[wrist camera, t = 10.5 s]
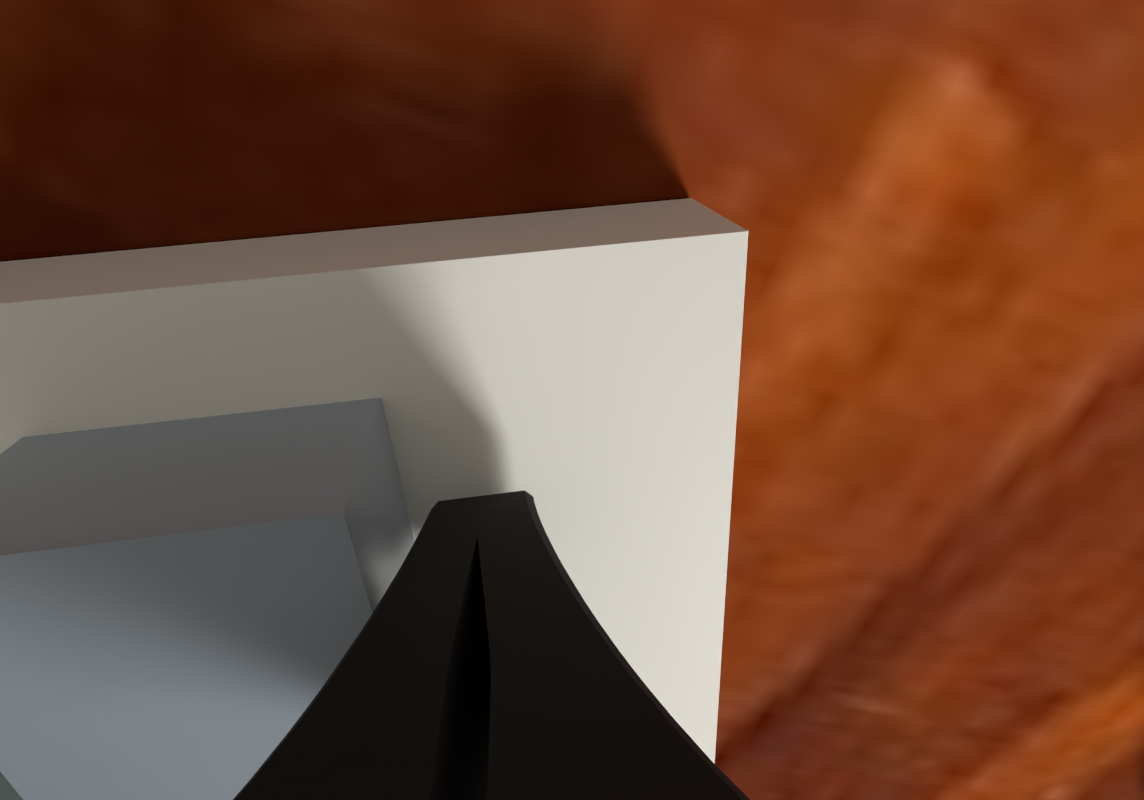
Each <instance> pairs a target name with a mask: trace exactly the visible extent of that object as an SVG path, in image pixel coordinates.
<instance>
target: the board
mask: <svg viewBox="0 0 1144 800" xmlns="http://www.w3.org/2000/svg"><path fill="white" fill-rule="evenodd" d="M747 246H748V231H747V230H746V229H744V228H742V227H740V226H739V225H737V224H735V223H733V222H732V221H730V220H728V219H726V218H725V217H723V216H721V215H719V214H718V213H716V212H714V211H712V210H711V209H709V208H707V207H705V206H704V205H702V204H700V203H699V202H697V201H695V200H693V199H692V198H687V199H676V200H665V201H654V202H643V203H633V204H622V205H611V206H600V207H589V208H578V209H568V210H557V211H546V212H535V213H524V214H513V215H503V216H492V217H481V218H470V219H459V220H448V221H437V222H427V223H416V224H405V225H394V226H383V227H372V228H362V229H351V230H340V231H329V232H318V233H307V234H297V235H286V236H275V237H264V238H253V239H242V240H231V241H221V242H210V243H199V244H188V245H177V246H166V247H156V248H145V249H134V250H123V251H112V252H101V253H91V254H80V255H69V256H58V257H47V258H36V259H25V260H15V261H4V262H0V454H1V453H2V452H4V451H5V450H6V449H8V448H9V447H10V446H12V445H13V444H14V443H15V442H17V441H18V440H19V439H21V438H22V437H29V436H38V435H47V434H56V433H65V432H74V431H83V430H92V429H101V428H110V427H119V426H129V425H138V424H147V423H156V422H165V421H174V420H183V419H192V418H201V417H210V416H219V415H228V414H237V413H246V412H255V411H264V410H273V409H282V408H291V407H300V406H309V405H318V404H327V403H336V402H345V401H354V400H363V399H372V398H382V402H383V407H384V411H385V415H386V420H387V424H388V428H389V433H390V437H391V441H392V446H393V450H394V454H395V459H396V463H397V467H398V471H399V476H400V480H401V484H402V489H403V493H404V497H405V502H406V506H407V510H408V515H409V519H410V523H411V528H412V532H413V536H414V541H415V540H416V538H417V536H418V534H419V533H420V531H421V529H422V527H423V525H424V523H425V521H426V519H427V517H428V515H429V513H430V511H431V509H432V508H433V506H434V505H435V504H436V503H437V502H438V501H443V500H451V499H459V498H467V497H475V496H483V495H491V494H499V493H507V492H515V491H524V490H525V491H526V492H528V493H529V494H530V495H532V496H533V497H534V503H535V506H536V509H537V512H538V515H539V518H540V520H541V523H542V525H543V527H544V530H545V532H546V534H547V536H548V538H549V540H550V542H551V544H552V546H553V548H554V550H555V552H556V554H557V556H558V558H559V559H560V561H561V563H562V565H563V567H564V568H565V570H566V571H567V573H568V575H569V576H570V578H571V580H572V581H573V583H574V585H575V586H576V588H577V589H578V591H579V593H580V594H581V596H582V598H583V599H584V601H585V602H586V604H587V605H588V607H589V608H590V610H591V611H592V613H593V614H594V616H595V617H596V619H597V620H598V622H599V623H600V625H601V626H602V627H603V629H604V630H605V632H606V633H607V634H608V636H609V637H610V639H611V640H612V641H613V643H614V644H615V646H616V647H617V648H618V650H619V651H620V652H621V654H622V655H623V656H624V658H625V659H626V660H627V662H628V663H629V664H630V666H631V667H632V668H633V670H634V671H635V672H636V673H637V675H638V676H639V677H640V678H641V680H642V681H643V682H644V683H645V685H646V686H647V687H648V688H649V690H650V691H651V692H652V693H653V694H654V696H655V697H656V698H657V699H658V700H659V702H660V703H661V704H662V705H663V706H664V708H665V709H666V710H667V711H668V712H669V714H670V715H671V716H672V717H673V718H674V719H675V721H676V722H677V723H678V724H679V725H680V726H681V727H682V728H683V729H684V731H685V732H686V733H687V734H688V735H689V736H690V737H691V738H692V740H693V741H694V742H695V743H696V744H697V745H698V746H699V747H700V748H701V750H702V751H703V752H704V753H705V754H706V755H707V756H708V757H709V759H710V760H711V761H712V762H713V763H715V748H716V732H717V716H718V701H719V685H720V669H721V653H722V638H723V622H724V606H725V591H726V575H727V559H728V544H729V528H730V512H731V497H732V481H733V465H734V449H735V434H736V418H737V402H738V387H739V371H740V355H741V340H742V324H743V308H744V293H745V277H746V261H747Z"/></svg>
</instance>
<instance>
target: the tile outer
mask: <svg viewBox="0 0 1144 800" xmlns="http://www.w3.org/2000/svg"><path fill="white" fill-rule="evenodd" d="M414 542H415V541H414V536H413V532H412V528H411V523H410V519H409V515H408V510H407V506H406V502H405V497H404V493H403V489H402V484H401V480H400V476H399V471H398V467H397V463H396V459H395V454H394V450H393V446H392V441H391V437H390V433H389V428H388V424H387V420H386V415H385V411H384V407H383V402H382V398H372V399H363V400H354V401H345V402H336V403H327V404H318V405H309V406H300V407H291V408H282V409H273V410H264V411H255V412H246V413H237V414H228V415H219V416H210V417H201V418H192V419H183V420H174V421H165V422H156V423H147V424H138V425H129V426H119V427H110V428H101V429H92V430H83V431H74V432H65V433H56V434H47V435H38V436H29V437H22V438H21V439H19V440H18V441H17V442H15V443H14V444H13V445H12V446H10V447H9V448H8V449H6V450H5V451H4V452H2V453H1V454H0V772H1V773H2V774H3V775H4V776H5V778H6V779H7V780H8V781H9V783H10V784H11V785H12V786H13V788H14V789H15V790H16V791H17V793H18V794H19V795H20V796H21V798H22V799H23V800H233V799H234V798H235V797H236V795H237V794H238V793H239V792H240V791H241V790H242V788H243V787H244V786H245V785H246V784H247V783H248V781H249V780H250V779H251V778H252V777H253V775H254V774H255V773H256V772H257V771H258V769H259V768H260V767H261V766H262V764H263V763H264V762H265V761H266V759H267V758H268V757H269V756H270V754H271V753H272V752H273V751H274V749H275V748H276V747H277V746H278V745H279V743H280V742H281V741H282V740H283V738H284V737H285V736H286V735H287V733H288V732H289V731H290V729H291V728H292V727H293V726H294V724H295V723H296V722H297V720H298V719H299V718H300V716H301V715H302V714H303V712H304V711H305V710H306V708H307V707H308V706H309V704H310V703H311V702H312V700H313V699H314V698H315V696H316V695H317V694H318V692H319V691H320V690H321V688H322V687H323V686H324V684H325V683H326V681H327V680H328V678H329V677H330V675H331V674H332V673H333V671H334V670H335V668H336V667H337V665H338V664H339V662H340V661H341V659H342V658H343V657H344V655H345V654H346V652H347V651H348V649H349V648H350V646H351V645H352V644H353V642H354V641H355V639H356V638H357V636H358V635H359V633H360V632H361V630H362V629H363V627H364V626H365V624H366V623H367V621H368V620H369V618H370V617H371V615H372V613H373V612H374V610H375V608H376V607H377V605H378V604H379V602H380V600H381V599H382V597H383V595H384V594H385V592H386V590H387V589H388V587H389V586H390V584H391V582H392V581H393V579H394V577H395V576H396V574H397V572H398V571H399V569H400V567H401V565H402V564H403V562H404V560H405V558H406V557H407V555H408V553H409V551H410V549H411V548H412V546H413V544H414Z"/></svg>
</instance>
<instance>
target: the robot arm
mask: <svg viewBox="0 0 1144 800" xmlns="http://www.w3.org/2000/svg"><path fill="white" fill-rule="evenodd" d="M233 800H750V799H749V798H748V797H747V796H746V795H745V794H744V793H743V792H742V791H741V790H740V789H739V788H738V787H737V786H736V785H735V784H734V783H733V782H732V781H731V780H730V779H729V778H728V777H727V776H726V775H725V774H724V773H723V772H722V771H721V770H720V769H719V768H718V767H717V766H716V765H715V764H714V763H713V762H712V761H711V760H710V759H709V757H708V756H707V755H706V754H705V753H704V752H703V751H702V750H701V748H700V747H699V746H698V745H697V744H696V743H695V742H694V741H693V740H692V738H691V737H690V736H689V735H688V734H687V733H686V732H685V731H684V729H683V728H682V727H681V726H680V725H679V724H678V723H677V722H676V721H675V719H674V718H673V717H672V716H671V715H670V714H669V712H668V711H667V710H666V709H665V708H664V706H663V705H662V704H661V703H660V702H659V700H658V699H657V698H656V697H655V696H654V694H653V693H652V692H651V691H650V690H649V688H648V687H647V686H646V685H645V683H644V682H643V681H642V680H641V678H640V677H639V676H638V675H637V673H636V672H635V671H634V670H633V668H632V667H631V666H630V664H629V663H628V662H627V660H626V659H625V658H624V656H623V655H622V654H621V652H620V651H619V650H618V648H617V647H616V646H615V644H614V643H613V641H612V640H611V639H610V637H609V636H608V634H607V633H606V632H605V630H604V629H603V627H602V626H601V625H600V623H599V622H598V620H597V619H596V617H595V616H594V614H593V613H592V611H591V610H590V608H589V607H588V605H587V604H586V602H585V601H584V599H583V598H582V596H581V594H580V593H579V591H578V589H577V588H576V586H575V585H574V583H573V581H572V580H571V578H570V576H569V575H568V573H567V571H566V570H565V568H564V567H563V565H562V563H561V561H560V559H559V558H558V556H557V554H556V552H555V550H554V548H553V546H552V544H551V542H550V540H549V538H548V536H547V534H546V532H545V530H544V527H543V525H542V523H541V520H540V518H539V515H538V512H537V509H536V506H535V503H534V497H533V496H532V495H530V494H529V493H528V492H526V491H525V490H524V491H515V492H507V493H499V494H491V495H483V496H475V497H467V498H459V499H451V500H443V501H438V502H437V503H436V504H435V505H434V506H433V508H432V509H431V511H430V513H429V515H428V517H427V519H426V521H425V523H424V525H423V527H422V529H421V531H420V533H419V534H418V536H417V538H416V540H415V542H414V544H413V546H412V548H411V549H410V551H409V553H408V555H407V557H406V558H405V560H404V562H403V564H402V565H401V567H400V569H399V571H398V572H397V574H396V576H395V577H394V579H393V581H392V582H391V584H390V586H389V587H388V589H387V590H386V592H385V594H384V595H383V597H382V599H381V600H380V602H379V604H378V605H377V607H376V608H375V610H374V612H373V613H372V615H371V617H370V618H369V620H368V621H367V623H366V624H365V626H364V627H363V629H362V630H361V632H360V633H359V635H358V636H357V638H356V639H355V641H354V642H353V644H352V645H351V646H350V648H349V649H348V651H347V652H346V654H345V655H344V657H343V658H342V659H341V661H340V662H339V664H338V665H337V667H336V668H335V670H334V671H333V673H332V674H331V675H330V677H329V678H328V680H327V681H326V683H325V684H324V686H323V687H322V688H321V690H320V691H319V692H318V694H317V695H316V696H315V698H314V699H313V700H312V702H311V703H310V704H309V706H308V707H307V708H306V710H305V711H304V712H303V714H302V715H301V716H300V718H299V719H298V720H297V722H296V723H295V724H294V726H293V727H292V728H291V729H290V731H289V732H288V733H287V735H286V736H285V737H284V738H283V740H282V741H281V742H280V743H279V745H278V746H277V747H276V748H275V749H274V751H273V752H272V753H271V754H270V756H269V757H268V758H267V759H266V761H265V762H264V763H263V764H262V766H261V767H260V768H259V769H258V771H257V772H256V773H255V774H254V775H253V777H252V778H251V779H250V780H249V781H248V783H247V784H246V785H245V786H244V787H243V788H242V790H241V791H240V792H239V793H238V794H237V795H236V797H235V798H234V799H233Z"/></svg>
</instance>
